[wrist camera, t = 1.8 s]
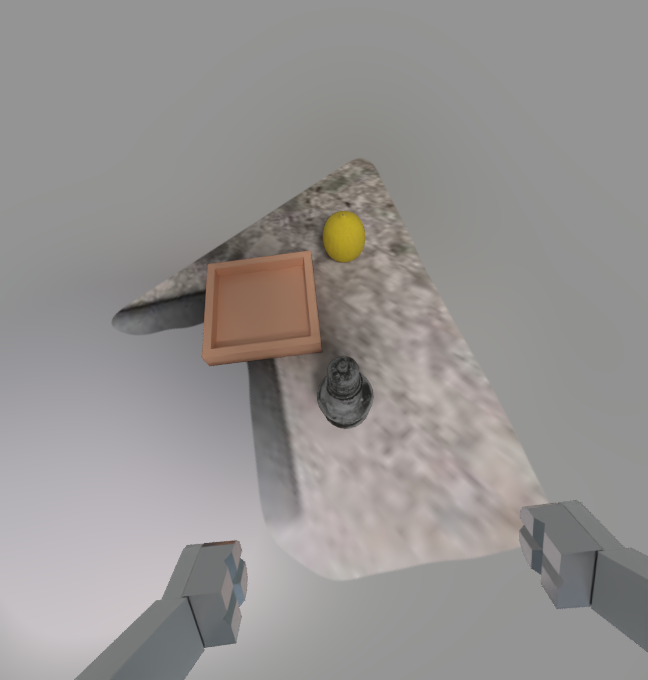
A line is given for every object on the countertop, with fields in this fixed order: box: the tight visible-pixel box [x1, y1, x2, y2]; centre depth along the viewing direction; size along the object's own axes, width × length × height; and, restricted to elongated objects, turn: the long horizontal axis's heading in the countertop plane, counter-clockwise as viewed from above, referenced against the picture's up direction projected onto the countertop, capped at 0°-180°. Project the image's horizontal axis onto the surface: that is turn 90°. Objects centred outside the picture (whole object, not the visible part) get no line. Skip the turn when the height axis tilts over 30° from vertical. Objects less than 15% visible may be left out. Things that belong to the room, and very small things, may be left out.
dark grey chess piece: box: [317, 356, 373, 429], centre depth 35 cm, size 6×6×12 cm
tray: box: [202, 251, 322, 366], centre depth 46 cm, size 14×14×2 cm
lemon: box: [323, 211, 365, 262], centre depth 47 cm, size 6×6×8 cm
